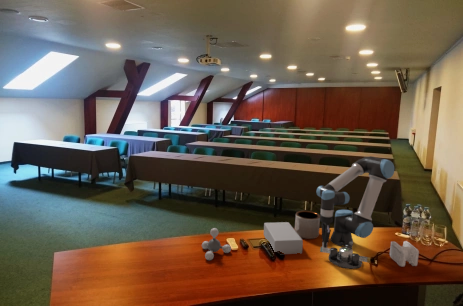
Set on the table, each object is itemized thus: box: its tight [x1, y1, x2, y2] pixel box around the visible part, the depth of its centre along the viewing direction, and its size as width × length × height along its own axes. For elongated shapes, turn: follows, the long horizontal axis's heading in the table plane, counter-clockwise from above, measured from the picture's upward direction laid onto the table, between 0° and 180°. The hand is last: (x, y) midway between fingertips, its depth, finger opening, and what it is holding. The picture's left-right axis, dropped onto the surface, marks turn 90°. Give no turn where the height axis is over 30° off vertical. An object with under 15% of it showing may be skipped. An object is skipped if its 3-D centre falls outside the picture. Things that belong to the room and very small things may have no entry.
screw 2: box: [351, 252, 371, 266], centre depth 194 cm, size 10×4×6 cm, turn 69°
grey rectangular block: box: [319, 246, 339, 260], centre depth 203 cm, size 10×4×6 cm, turn 70°
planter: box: [294, 210, 321, 240], centre depth 238 cm, size 18×18×16 cm
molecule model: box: [201, 227, 232, 261], centre depth 206 cm, size 20×16×20 cm
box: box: [263, 221, 304, 255], centre depth 223 cm, size 19×30×10 cm, turn 7°
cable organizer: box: [389, 240, 420, 268], centre depth 201 cm, size 15×11×12 cm
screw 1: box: [344, 241, 354, 250], centre depth 210 cm, size 10×4×6 cm, turn 148°
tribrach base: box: [328, 246, 363, 270], centre depth 202 cm, size 20×20×8 cm
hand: (324, 251), depth 202 cm, fingers closed
